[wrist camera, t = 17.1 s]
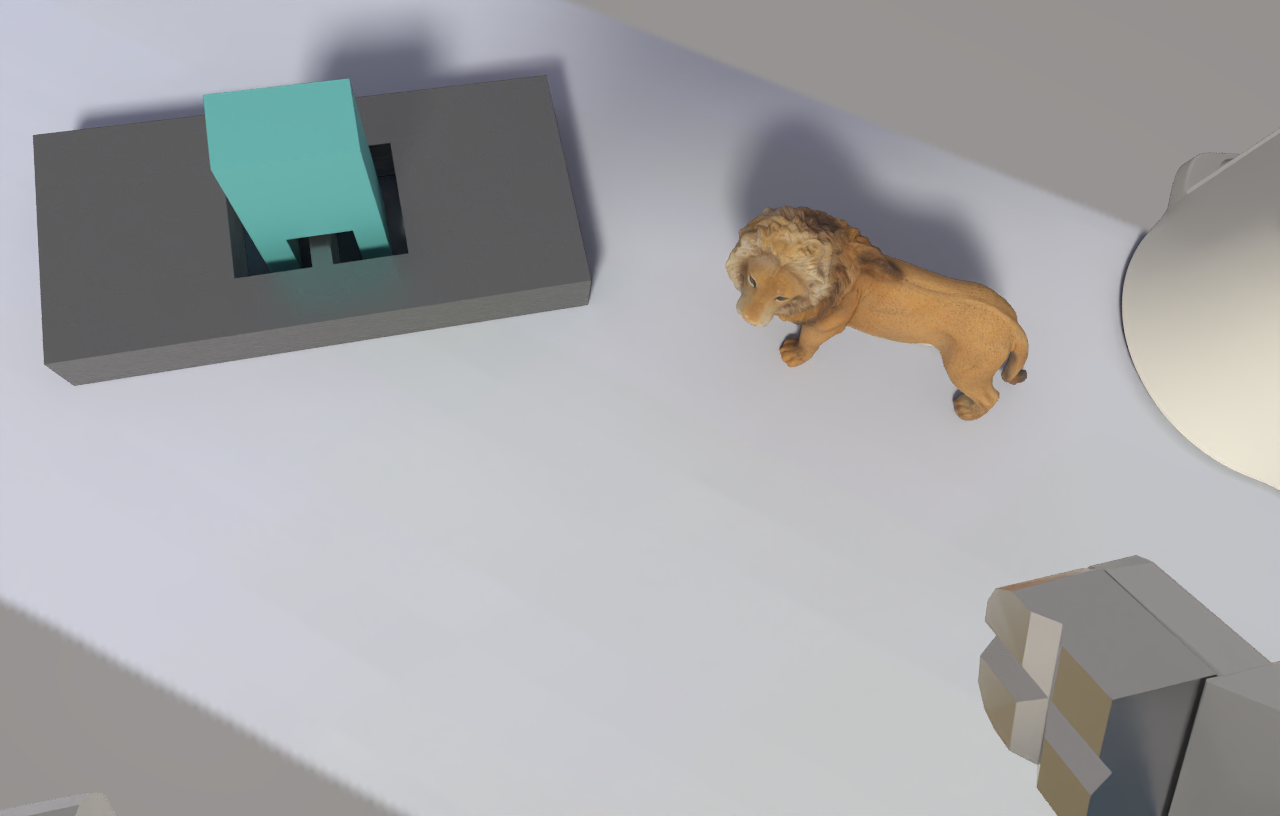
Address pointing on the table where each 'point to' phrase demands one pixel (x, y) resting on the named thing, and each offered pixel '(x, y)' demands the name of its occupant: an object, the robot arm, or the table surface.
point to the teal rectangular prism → (296, 167)
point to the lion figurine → (872, 300)
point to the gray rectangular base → (328, 291)
